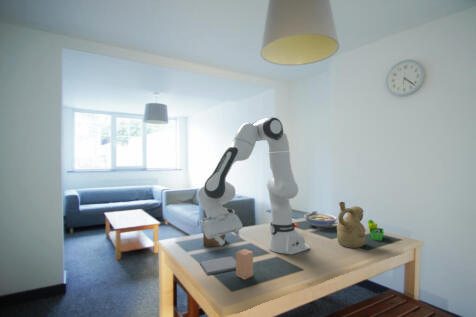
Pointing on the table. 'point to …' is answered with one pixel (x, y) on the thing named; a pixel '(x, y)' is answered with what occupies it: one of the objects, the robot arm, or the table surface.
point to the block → (244, 264)
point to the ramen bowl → (320, 219)
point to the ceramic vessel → (350, 227)
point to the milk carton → (212, 240)
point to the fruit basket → (375, 230)
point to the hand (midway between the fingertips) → (231, 241)
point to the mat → (218, 265)
